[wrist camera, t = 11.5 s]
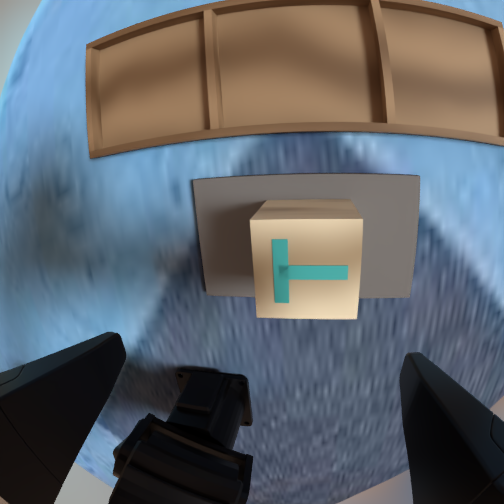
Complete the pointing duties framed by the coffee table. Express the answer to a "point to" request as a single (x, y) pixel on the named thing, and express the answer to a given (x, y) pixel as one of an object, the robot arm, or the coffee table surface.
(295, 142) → the coffee table surface
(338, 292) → the letter block
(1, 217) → the coffee table surface
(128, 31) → the bay tray
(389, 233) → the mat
